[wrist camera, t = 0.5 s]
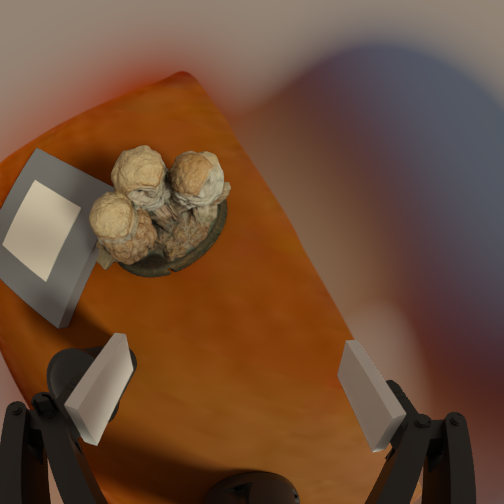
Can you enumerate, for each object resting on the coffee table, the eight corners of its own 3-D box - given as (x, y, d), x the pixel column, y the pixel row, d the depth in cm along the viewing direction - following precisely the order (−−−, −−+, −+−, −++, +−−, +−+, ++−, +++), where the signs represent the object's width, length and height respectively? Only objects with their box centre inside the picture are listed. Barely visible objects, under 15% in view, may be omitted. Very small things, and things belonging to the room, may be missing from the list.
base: (67, 327, 30) (57, 328, 27) (-9, 260, 28) (-21, 257, 25) (129, 200, 35) (123, 191, 32) (44, 156, 33) (35, 146, 30)
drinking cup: (141, 331, 32) (76, 362, 13) (152, 385, 31) (108, 464, 12) (90, 334, 31) (-2, 358, 11) (101, 387, 30) (28, 449, 10)
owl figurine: (141, 305, 33) (89, 306, 17) (95, 236, 33) (31, 190, 17) (246, 222, 37) (278, 163, 21) (195, 162, 38) (195, 79, 21)
